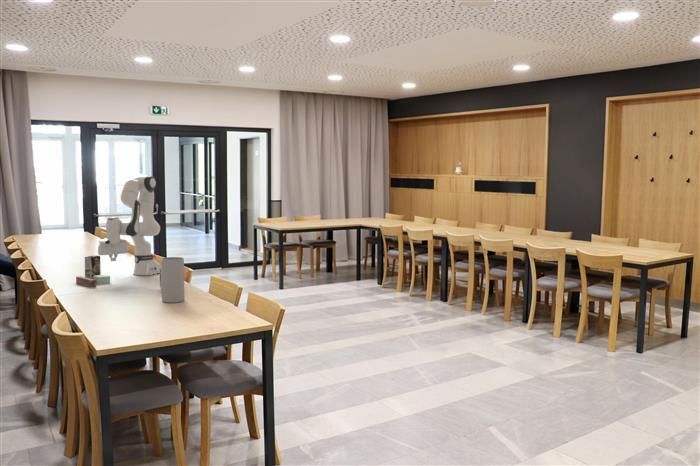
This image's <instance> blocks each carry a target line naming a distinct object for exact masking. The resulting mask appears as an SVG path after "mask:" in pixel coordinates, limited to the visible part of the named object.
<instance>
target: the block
mask: <svg viewBox="0 0 700 466" xmlns="http://www.w3.org/2000/svg"><path fill="white" fill-rule="evenodd" d="M93 279H94V280H96V285H106V284H111V276H110V275H107V274H101V275H96V276H93Z"/></svg>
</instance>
